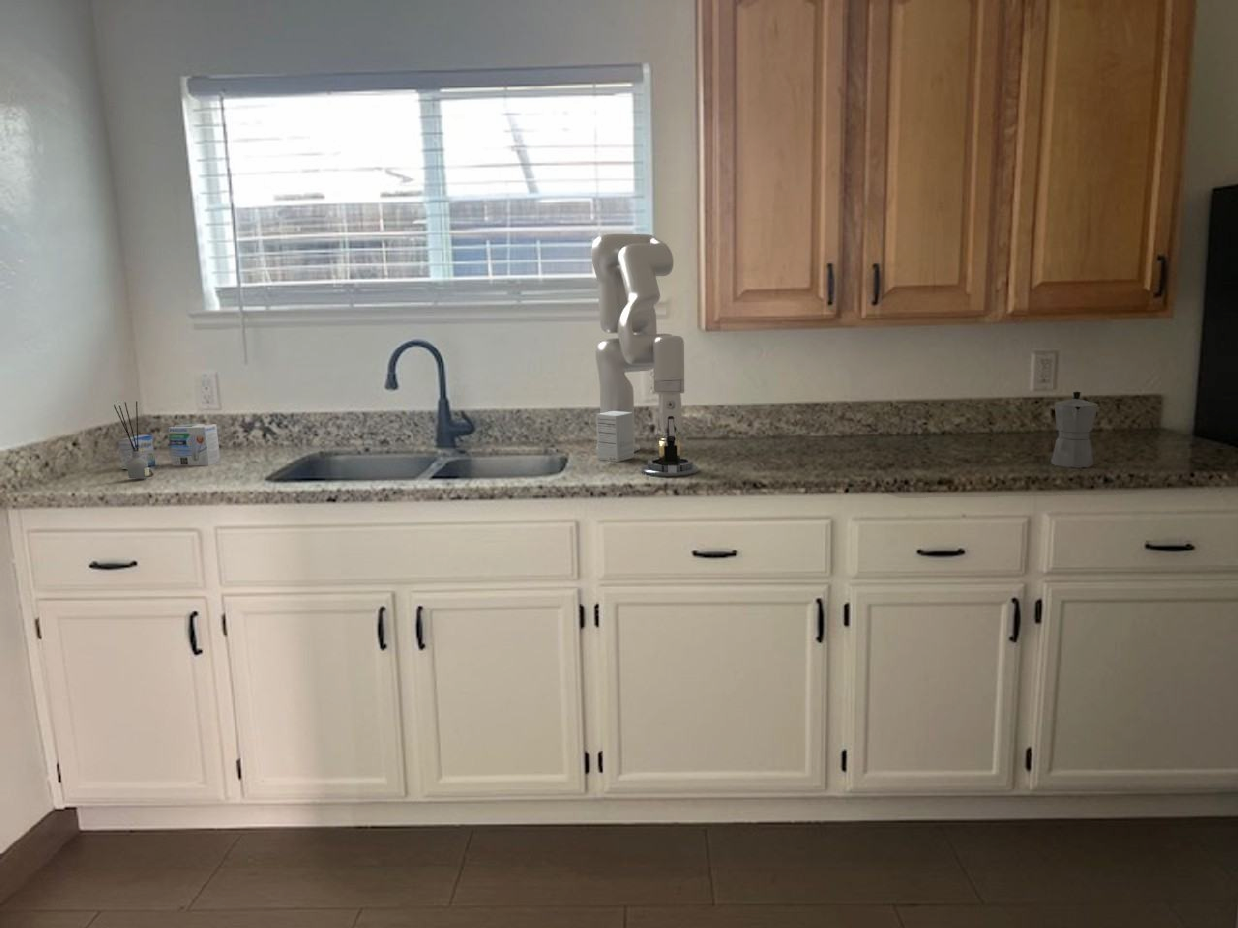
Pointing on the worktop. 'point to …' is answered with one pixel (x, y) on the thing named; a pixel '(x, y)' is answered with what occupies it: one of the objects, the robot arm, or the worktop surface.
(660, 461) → the brass lock cylinder
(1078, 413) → the coffeepot
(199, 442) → the light bulb box
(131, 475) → the reed diffuser
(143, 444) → the medicine box
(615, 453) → the supplement box
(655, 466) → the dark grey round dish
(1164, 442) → the worktop surface
